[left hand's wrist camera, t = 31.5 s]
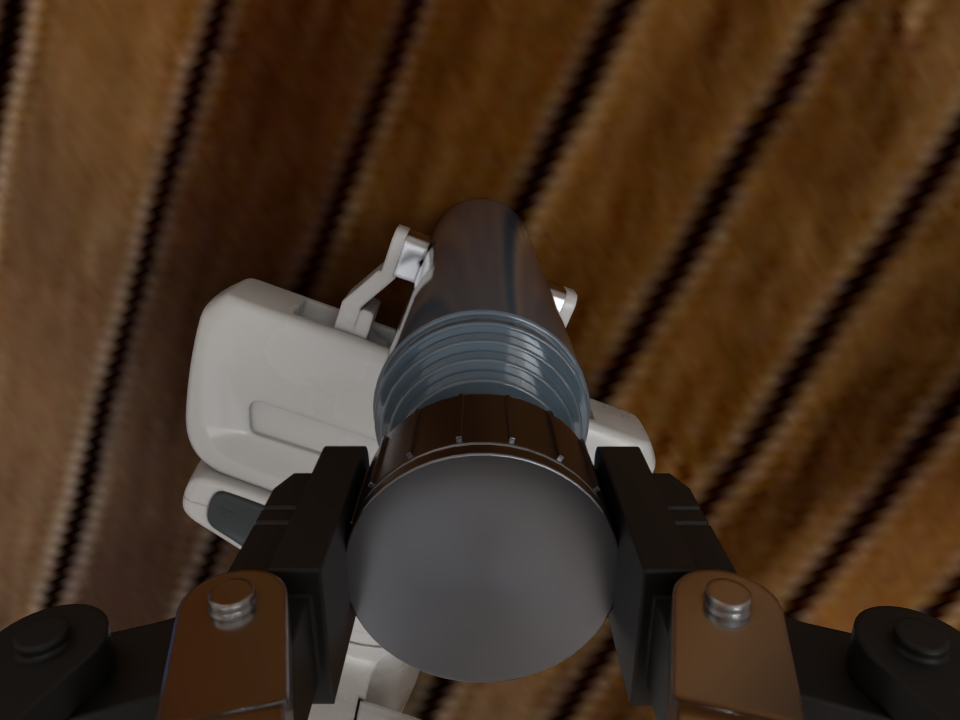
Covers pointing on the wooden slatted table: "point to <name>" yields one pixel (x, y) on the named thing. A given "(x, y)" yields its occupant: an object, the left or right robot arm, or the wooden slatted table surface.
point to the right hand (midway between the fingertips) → (487, 259)
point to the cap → (481, 541)
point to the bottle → (481, 325)
